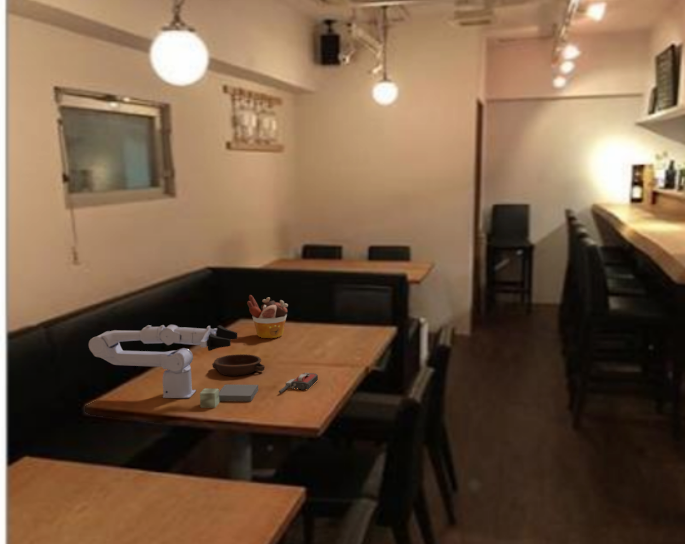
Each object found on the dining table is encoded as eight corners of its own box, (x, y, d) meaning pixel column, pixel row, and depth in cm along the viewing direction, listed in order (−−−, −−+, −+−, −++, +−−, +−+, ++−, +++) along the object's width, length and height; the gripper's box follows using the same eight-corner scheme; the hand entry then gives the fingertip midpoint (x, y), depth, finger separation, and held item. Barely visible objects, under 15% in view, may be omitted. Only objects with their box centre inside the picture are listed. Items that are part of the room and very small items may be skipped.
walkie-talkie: (298, 379, 251) (276, 395, 232) (297, 367, 250) (276, 383, 231) (320, 380, 248) (300, 398, 229) (319, 369, 248) (300, 385, 229)
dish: (255, 380, 250) (255, 367, 249) (202, 376, 256) (201, 364, 255) (272, 367, 267) (272, 355, 266) (221, 364, 272) (221, 352, 272)
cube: (200, 407, 220) (199, 393, 220) (204, 402, 225) (204, 388, 225) (215, 408, 220) (214, 393, 219) (219, 402, 225) (218, 388, 224)
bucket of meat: (293, 332, 324) (292, 292, 322) (284, 341, 308) (283, 298, 306) (254, 331, 328) (252, 291, 325) (243, 339, 312) (241, 298, 309)
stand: (216, 401, 227) (215, 395, 226) (225, 389, 238) (225, 384, 238) (250, 401, 226) (250, 395, 225) (258, 390, 237) (258, 384, 237)
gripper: (187, 331, 222) (227, 334, 220) (202, 319, 236) (239, 321, 234) (188, 351, 224) (227, 354, 222) (202, 338, 238) (239, 340, 236)
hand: (233, 339), depth 228 cm, fingers open, 7 cm apart
